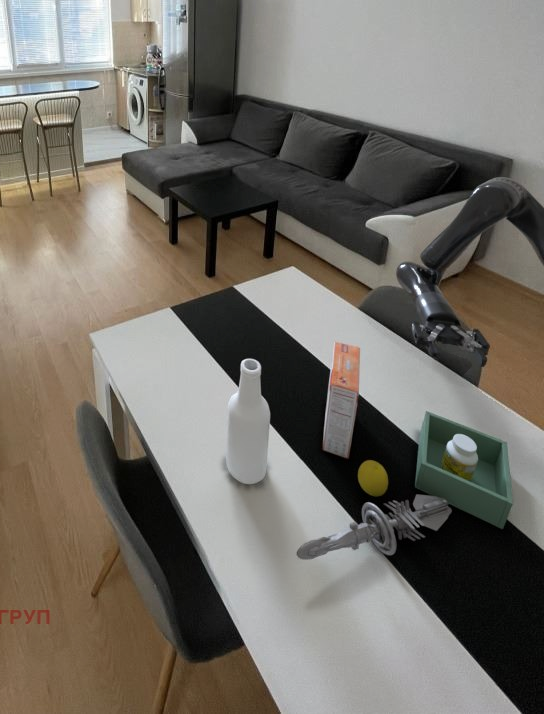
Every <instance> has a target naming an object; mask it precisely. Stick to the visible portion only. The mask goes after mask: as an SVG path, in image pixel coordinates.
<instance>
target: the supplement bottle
mask: <svg viewBox="0 0 544 714" xmlns="http://www.w3.org/2000/svg"><path fill="white" fill-rule="evenodd" d="M476 450H477V446H476V444H475V442H474V441H473V440H472V439H471V438H469V437H468V436H465V435H463V434H456V435H454V437H453V439H452V440H451V441H449V442H448V443H447V446H446V450H445V453H444V457H443V460H442V464H441V469H443V470H445V471H447V472H449V473H452V474H454V475H456V476H458V477H461V478H463V479H465V480H467V481H470V482H471V480H472V477H473V474H474V471H475V468H476V465H477V462H478V456H477V453H476Z"/></svg>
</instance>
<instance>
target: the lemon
mask: <svg viewBox="0 0 544 714" xmlns="http://www.w3.org/2000/svg"><path fill="white" fill-rule="evenodd" d="M388 477H389V476H388V473H387V471H386V469H385V468H384V466H383V465H382V464H380V462H378V461H375V460H372V459H367V460H365V461H364V462H362V463H361V464H360V466H359V468H358V471H357V480H358V483H359V485H360V487H361V489H362V490H363V491H364V492H365V493H366V494H368V495H369V496H371V497H381V496H383V495H385V493H386V491H387V490H388V486H389V478H388Z"/></svg>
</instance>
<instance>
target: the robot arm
mask: <svg viewBox="0 0 544 714" xmlns="http://www.w3.org/2000/svg"><path fill="white" fill-rule="evenodd" d="M504 219H505V220H506V221H508V222H509V223H510V224H511V225H513V227H515V228H516V229H517V230H518V231H519V232H520V233H521V234H522V235H523V236H524V237H525V238H526V240H527V242H528V243H529V244H530V247H531V248H532V250H533V251H534V253H535V255H536V256H537V259H538V260H539V261H540V263H541V264H542V266H543V267H544V206H543V205H542V204H541V203H540V202H539V200H537V199H536V198H535V197H534V195H533V194H532V192H531V193H530V191H529V190H528V189H527V188H526V187H525V186H524V185H523V184H521V183H520V182H518V181H517V180H515V179H512V178H510V177H506V176H505V177H504V176H498V177H494V178H490V179H489V180H487V181H485V182H483V183H481V184H479V185H478V186H476V188H474V189H473V190H472V192H471V194H470V196H468V198H467V200H466V202H465V203H464V205H463V207H462V208H461V209H460V211H459V212H458V214H457V215H456V217H454V219H453V221H451V222H450V223H449V225H448V226H447V227H446V228H444V230H443V231H441V232H440V233H439V234H438V235H437V236H436V237H434V239H433V240H432V241H431V242H430V243H429V244H428V245H427V246H426V247H425V248H424V250H423V251H422V252H421V253H420V256H419V258H420V261H421V263H422V264H423V265H422V264H419V263H416V262H414V261H403V262H401V263H400V264H399V265H398V266H397V268H396V271H395V277H396V279H397V281H398V283H399V285H400V287H402V288H403V290H404V291H405V292H406V293H407V294H408V295H409V296H410V297H411V298H412V300H413V303H414V304H415V308H416V311H417V315H418V316H419V318H420V320H421V323H422V324H420V322H419V321H416V320H414V321H413V322H412V326H411V333H412V336H413V339H414V343H415V345H416V346H419V347H422V346H424V347H425V348H426V349H427V351H428V353H429V356H430V357H431V358H433V360H434V361H440V359H441V352H440V350H439V347H438V343H441V344H443V345H451V346H456V347H459V348H460V349H461V350H463V351H467V352H469V353H471V354H473V358H474V359H475V361H476V364H477V365H478V366H479V367H481V368H485V366H487V363H488V358H487V356H488V354H489V351H490V348H491V344H490V343H489V342H488V340H487V339H486V337H485V336H484V335H483V333H482V332H481V330H480V329H478V328H473V329H472V330H466V329H465V328H464V327H462V325H461V322H460V319H459V318H458V316H457V314H456V313H455V311H454V309H453V307H452V306H451V304H450V302H449V301H448V300H447V298H446V297H445V296H444V294H443V292H442V291H441V289H440V287H439V286H440V284H441V282H442V279H443V278H444V276H445V274H446V272H447V271H448V269H449V268H450V267H452V266H453V264H455V262H456V261H458V260H459V259H460V258H461V257H462V256H463V255H464V253H465V252H466V251H467V250H468V249H469V247H470V246H471V245H472V243H473V242H474V241H475V240H476V239H477V238H479V236H480V235H482V234H483V233H484V232H485V231H487V230H488V229H490V228H491V227H493V226H495V225H496V224H498V223H499V222H501V221H502V220H504ZM423 332H424V333H426V334H427V335H428V336H427V337H425V336H424V334H423ZM463 341H464V343H463Z"/></svg>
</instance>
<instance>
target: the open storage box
mask: <svg viewBox="0 0 544 714" xmlns="http://www.w3.org/2000/svg"><path fill="white" fill-rule="evenodd" d="M456 434H463V435H465V436H468V437H469V438H471V439H472V440H473V441H474V442H475V444H476V446H477V450H476V453H477V456H478V462H477V465H476V468H475V471H474V474H473V477H472V480H471V482H470V481H467V480H465V479H463V478H461V477H458V476H456V475H454V474H452V473H449V472H447V471H445V470H443V469H441V464H442V460H443V457H444V453H445V450H446V446H447V443H448V442H449V441H451V440H452V439H453V437H454V435H456ZM418 439H419V441H418V448H417V449H418V450H417V459H416V460H417V462H416V472H415V480H414V488H415V489H417V490H419V491H421V492H423V493H426V494H427V495H429V496H437V497H438V498H445V499H446V500H447V503H450V504H449V505H451V506H453V507H455V508H457V509H459V510H461V511H463V512H465V513H468V514H469V515H472V516H474V517H476V518H478V519H480V520H482V521H485V522H487V523H488V524H491V525H493V526H495V527H497V528H498V529H501V530H503V529H504V527H505V525H506V523H507V520H508V518H509V515H510V513H511V511H512V509H513V505H514V499H513V490H512V479H511V470H510V460H509V448H508V442H507V441H505V440H502V439H500V438H497V437H495V436H492V435H489V434H487V433H484V432H482V431H479V430H476V429H474V428H471V427H469V426H467V425H464V424H461V423H458V422H456V421H454V420H451V419H449V418H446V417H443V416H441V415H438V414H436V413H433V412H430V411H428V410H425V413H424V417H423V421H422V425H421V428H420V432H419V438H418Z"/></svg>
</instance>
